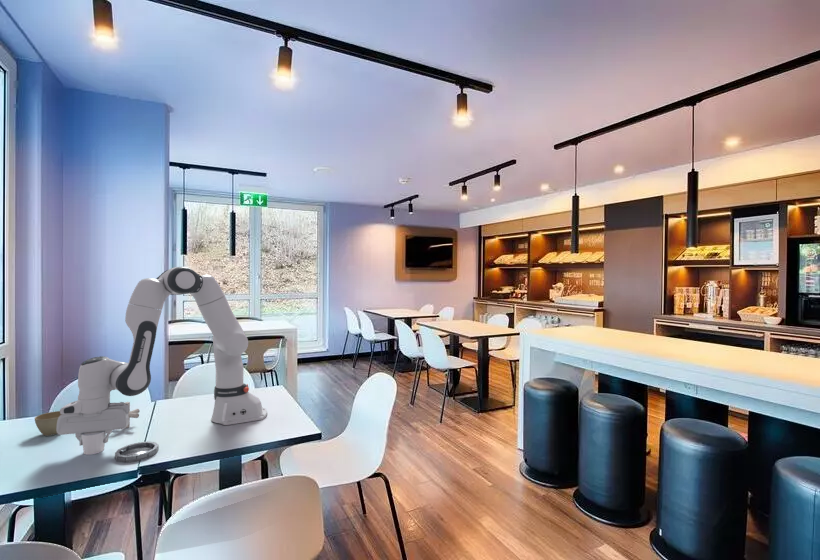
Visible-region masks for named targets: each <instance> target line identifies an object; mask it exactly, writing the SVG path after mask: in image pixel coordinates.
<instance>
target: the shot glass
mask: <svg viewBox="0 0 820 560" xmlns="http://www.w3.org/2000/svg"><path fill="white" fill-rule="evenodd" d="M106 435H107V434H105V431H97V432H86V433H82V442H83V445H82V450H83V454H84V455H87V456H91V455H95V454H99V453H102V452H103V451H104V450H105V444H106V443H103V439H104V438H105V436H106Z"/></svg>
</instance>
